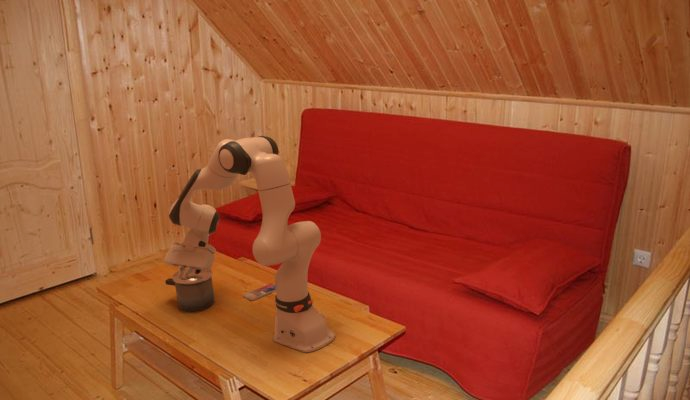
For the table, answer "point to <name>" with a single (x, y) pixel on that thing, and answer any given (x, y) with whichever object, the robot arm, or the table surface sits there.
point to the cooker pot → (194, 295)
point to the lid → (193, 276)
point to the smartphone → (260, 292)
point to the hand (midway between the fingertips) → (181, 278)
